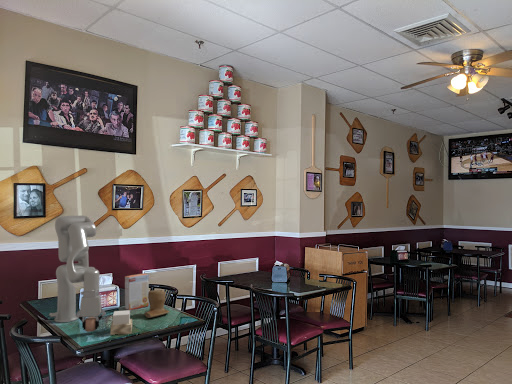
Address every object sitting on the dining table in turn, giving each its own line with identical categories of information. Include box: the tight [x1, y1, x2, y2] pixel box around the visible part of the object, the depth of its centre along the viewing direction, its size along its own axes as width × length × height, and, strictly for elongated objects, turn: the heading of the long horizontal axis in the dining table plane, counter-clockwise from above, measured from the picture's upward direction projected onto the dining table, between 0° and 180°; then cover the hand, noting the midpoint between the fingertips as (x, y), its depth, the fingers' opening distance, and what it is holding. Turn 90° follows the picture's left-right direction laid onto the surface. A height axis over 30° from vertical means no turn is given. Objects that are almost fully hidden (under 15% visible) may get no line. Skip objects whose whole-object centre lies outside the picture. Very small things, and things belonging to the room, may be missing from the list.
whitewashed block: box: [112, 309, 131, 325], centre depth 216 cm, size 8×8×5 cm
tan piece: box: [143, 289, 170, 319], centre depth 245 cm, size 15×12×15 cm
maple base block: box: [110, 318, 133, 336], centre depth 216 cm, size 10×10×5 cm
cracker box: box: [124, 273, 150, 311], centre depth 262 cm, size 14×6×21 cm, turn 136°
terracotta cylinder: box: [84, 317, 97, 333], centre depth 212 cm, size 5×5×6 cm
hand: (90, 328), depth 212 cm, fingers closed on terracotta cylinder, 5 cm apart
